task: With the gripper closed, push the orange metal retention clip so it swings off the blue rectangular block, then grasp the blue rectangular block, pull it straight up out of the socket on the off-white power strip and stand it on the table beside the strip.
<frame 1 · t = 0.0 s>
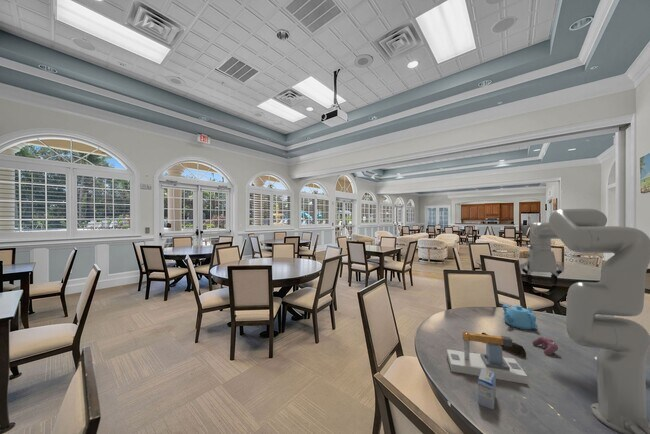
hand: (541, 283, 117), 31 cm above the table, tool pointing down, fingers open, 9 cm apart
hand tool: (503, 348, 118), on the table
champagne flute: (605, 361, 106), on the table
medicine box: (487, 401, 84), on the table
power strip: (483, 368, 102), on the table
clip: (486, 338, 101), point 13 cm above the table, hinge at 0.0°
blue rectangular block: (494, 363, 100), point 3 cm above the table, touching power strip
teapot: (518, 325, 142), on the table
video game controller: (545, 350, 115), on the table
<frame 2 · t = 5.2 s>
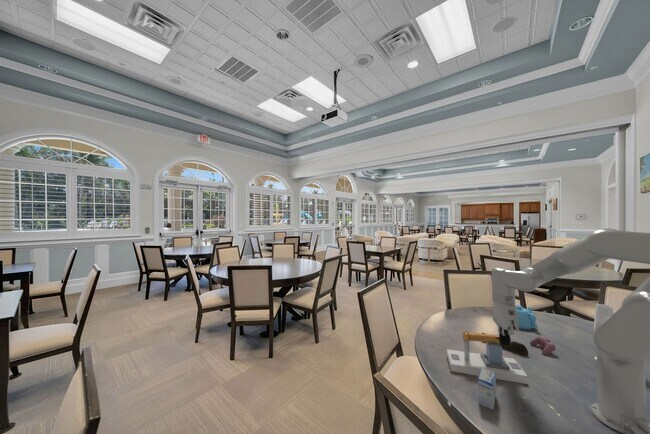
hand: (504, 344, 98), 12 cm above the table, tool pointing down, fingers closed
clip: (485, 337, 102), point 13 cm above the table, hinge at 5.4°, touching gripper
video game controller: (542, 350, 115), on the table
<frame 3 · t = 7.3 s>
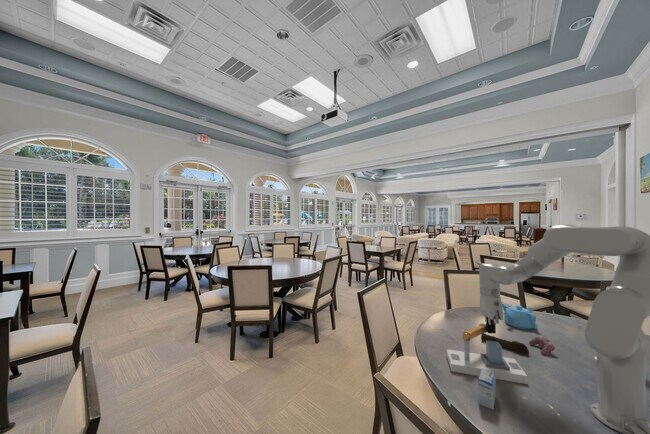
hand: (490, 332, 108), 12 cm above the table, tool pointing down, fingers closed
clip: (475, 331, 107), point 13 cm above the table, hinge at 50.1°, touching gripper
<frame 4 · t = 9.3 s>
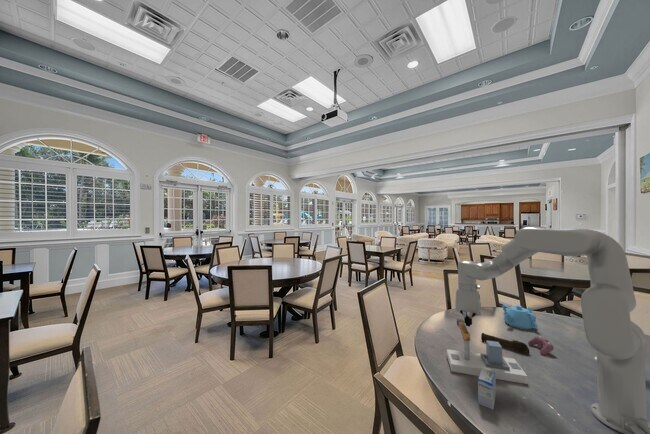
hand: (468, 325, 115), 12 cm above the table, tool pointing down, fingers closed
clip: (463, 329, 110), point 13 cm above the table, hinge at 88.7°
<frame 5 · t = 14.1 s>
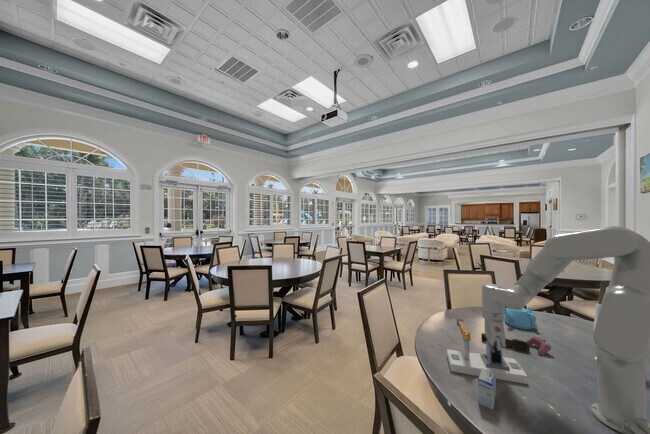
hand: (494, 358, 100), 5 cm above the table, tool pointing down, fingers closed on blue rectangular block, 4 cm apart
hand tool: (504, 346, 120), on the table
blue rectangular block: (494, 363, 100), point 3 cm above the table, touching gripper, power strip
video game controller: (538, 350, 115), on the table
everything else where it was.
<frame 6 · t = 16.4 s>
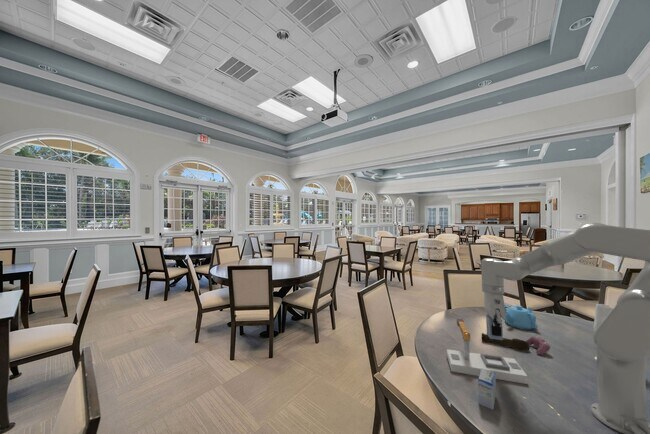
hand: (494, 332, 100), 16 cm above the table, tool pointing down, fingers closed on blue rectangular block, 4 cm apart
blue rectangular block: (494, 336, 100), point 14 cm above the table, touching gripper
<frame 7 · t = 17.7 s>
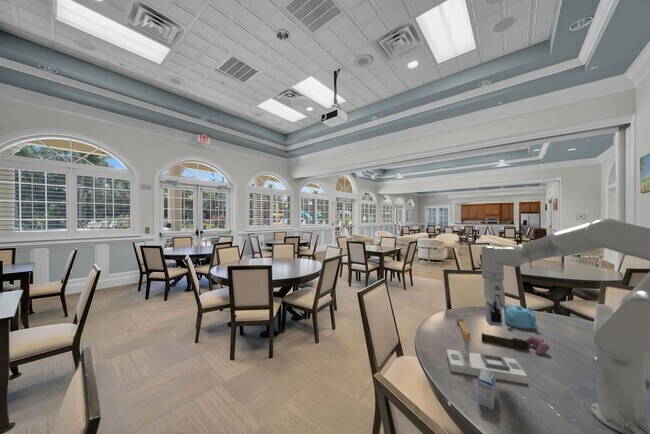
hand: (493, 319, 100), 21 cm above the table, tool pointing down, fingers closed on blue rectangular block, 4 cm apart
blue rectangular block: (494, 323, 100), point 19 cm above the table, touching gripper
everything else where it was.
when the fingers open (3 cm above the table, at t = 22.3 s): blue rectangular block drops 2 cm, on the table.
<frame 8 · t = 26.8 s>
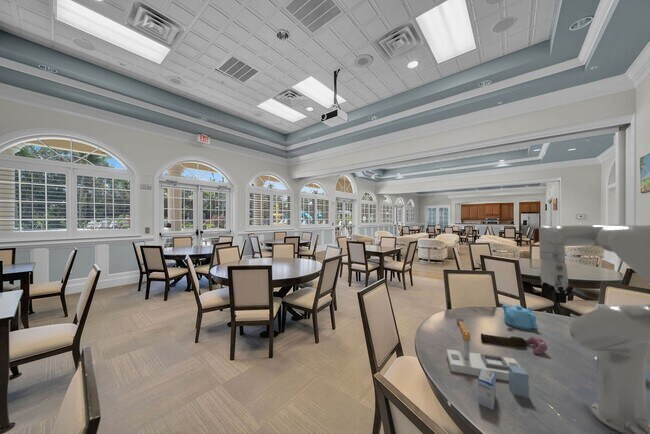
hand: (553, 298, 97), 30 cm above the table, tool pointing down, fingers open, 9 cm apart
blue rectangular block: (518, 392, 88), on the table
at the end: clip at +89° (first picture: +0°); blue rectangular block inside the target area (0.1 cm from its centre), on the table; blue rectangular block tilted 0° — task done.
